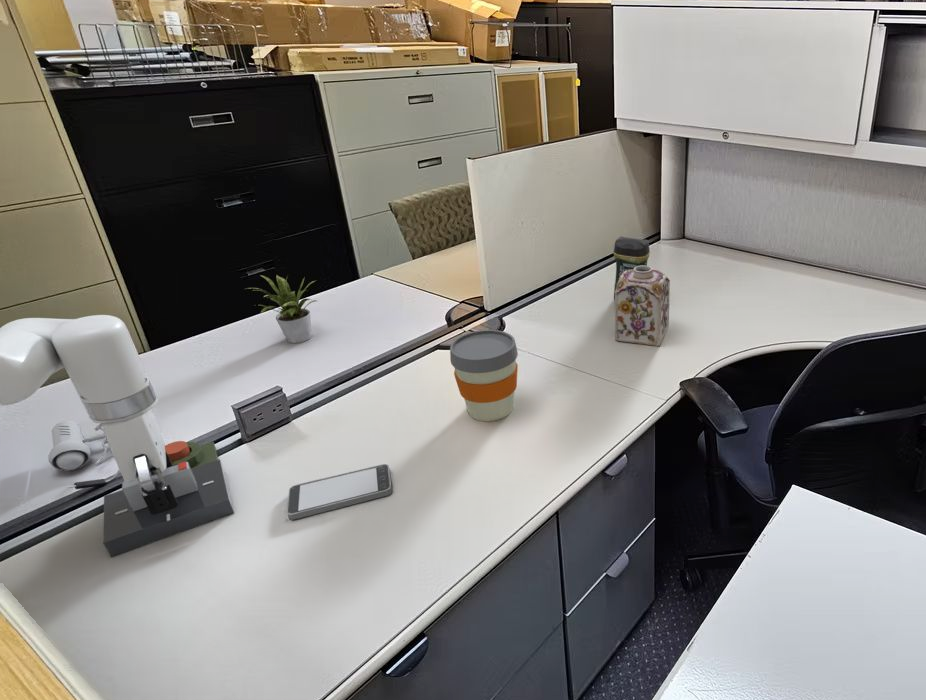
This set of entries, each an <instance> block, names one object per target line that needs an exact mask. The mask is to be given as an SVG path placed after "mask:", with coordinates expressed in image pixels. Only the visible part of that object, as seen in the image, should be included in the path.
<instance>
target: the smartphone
mask: <svg viewBox="0 0 926 700" xmlns="http://www.w3.org/2000/svg"><path fill="white" fill-rule="evenodd" d="M390 470H391V469H390V466H389V464H388V463H381V464H378V465H377V464H376V465H374V466H369V467H364V468H360V469H357V470H353V471H348V472H344V473H340V474H334V475H332V476H331V475H330V476H327V477H322V478H319V479H315V480H309V481H306V482H302V483H298V484H294V485H291V486H290V487H289V489H288V499H287V507H286V514H287V516H288V519H289V520H290V521H291V520H293V521H294V520H297V519H302V518H306V517H309V516H314V515H317V514H321V513H324V512H329V511H333V510H336V509H340V508H345V507H348V506H352V505H356V504H360V503H364V502H367V501H371V500H376V499H379V498H383V497H387V496H390V495H391V494H392V493H393V488H392V478H391V471H390Z"/></svg>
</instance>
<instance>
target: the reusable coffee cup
mask: <svg viewBox="0 0 926 700" xmlns="http://www.w3.org/2000/svg"><path fill="white" fill-rule="evenodd" d="M518 352H519V351H518V348H517V344H516V340H515V338H514V336H513V335H512V334H510V333H508V332H506V331H502V330H498V329H480V330H474V331H470V332H467V333H464V334H462V335H459V336H458V337H457V338H455V339H454V340H453V341H452V342H451V344H450V347H449V357H450V359H449V360H450V364H451V365H452V367H453V369H454V371H453V372H454V373H453V376H454V378H455V381H456V385H457V388H458V391H459V394H460V396H461V397H462V398H463V400H464V402H465V405H466V409H467V412H468V415H469V416H470V417H471V418H472V419H474V420H476V421H480V422H493V421H498V420H501V419H503V418H505V417H507V416H509V415H510V414H511V413H512V412H513V410H514V408H515V391H516V389H517V387H518V385H517V384H518V369H519V368H518V367H519V365H518V363H517V358H518V355H519V354H518Z"/></svg>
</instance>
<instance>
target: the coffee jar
mask: <svg viewBox="0 0 926 700" xmlns="http://www.w3.org/2000/svg"><path fill="white" fill-rule="evenodd" d="M614 242H615V243H614V248H613V257H614V260H615V281H614V291H613V300H614V302H615V290H616V286H617V283H618V280H619V278H620V275H621V274H622V273H623V272H624V271H627V270H631V269H634V268H635V267H637V266H641V265H645V266H648V261H649V258H650V254H651V251H650V243H649V240H648V239H641V238H634V237H626V236H619V237H617V239H616V240H615V241H614Z"/></svg>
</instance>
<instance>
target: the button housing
mask: <svg viewBox="0 0 926 700" xmlns="http://www.w3.org/2000/svg"><path fill="white" fill-rule="evenodd" d="M185 442H186V443H187V445H188V447H189V450H190V454H189V455H188V456H186V457H184V458H182V459H180V460H177V461H174V462H171V463H172V465H173V466H175V465H178V464H179V463H182V462H185V461H186V462H188V463H189V466H190V468H194V467H197V466H200V465H204V464H207V463H210V462H213V461H216V460H219V459H220V458H219V455H218V450H217V446H216V445H215V442H214V441H210V442H207V443H203V444H200V443H197V442H195V441H185Z"/></svg>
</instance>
